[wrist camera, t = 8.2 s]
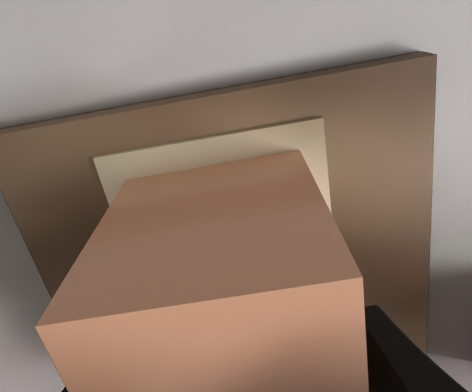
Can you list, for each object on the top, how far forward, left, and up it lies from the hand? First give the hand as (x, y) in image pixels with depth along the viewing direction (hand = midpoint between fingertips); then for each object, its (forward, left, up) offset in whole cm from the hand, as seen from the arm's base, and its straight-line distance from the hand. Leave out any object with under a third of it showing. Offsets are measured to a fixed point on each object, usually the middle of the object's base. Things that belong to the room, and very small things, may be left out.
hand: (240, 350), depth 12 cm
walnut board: (-5, -3, -4) cm, 7 cm away
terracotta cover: (0, 0, -3) cm, 3 cm away
